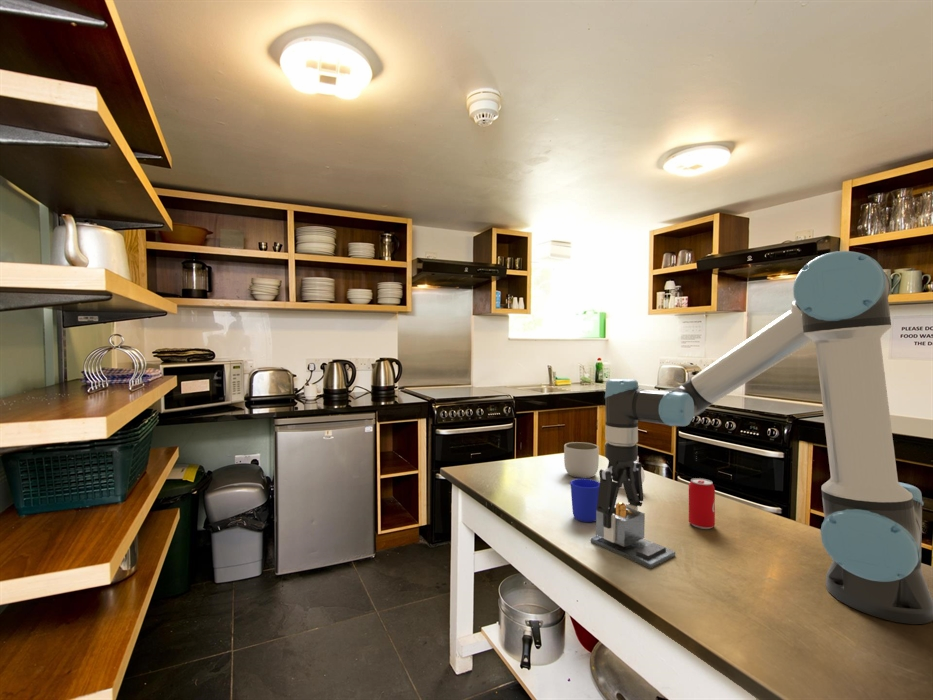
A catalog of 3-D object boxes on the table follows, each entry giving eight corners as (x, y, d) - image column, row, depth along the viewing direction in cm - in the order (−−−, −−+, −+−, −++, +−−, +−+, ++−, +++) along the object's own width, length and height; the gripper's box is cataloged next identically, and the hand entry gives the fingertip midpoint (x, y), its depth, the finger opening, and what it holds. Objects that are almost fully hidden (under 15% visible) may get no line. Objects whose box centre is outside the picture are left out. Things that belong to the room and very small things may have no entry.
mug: (617, 526, 119) (617, 489, 119) (570, 523, 121) (570, 486, 121) (613, 515, 127) (613, 480, 127) (570, 512, 129) (570, 477, 129)
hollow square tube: (644, 537, 108) (644, 513, 108) (624, 546, 103) (624, 521, 103) (616, 526, 114) (616, 503, 114) (596, 534, 110) (596, 510, 110)
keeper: (675, 555, 103) (675, 511, 102) (650, 568, 97) (650, 522, 97) (615, 532, 116) (616, 492, 115) (590, 542, 110) (590, 501, 110)
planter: (557, 474, 165) (557, 445, 165) (576, 468, 174) (576, 440, 174) (586, 482, 156) (586, 451, 156) (605, 475, 165) (605, 445, 165)
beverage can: (717, 525, 120) (717, 480, 119) (711, 532, 115) (711, 486, 115) (692, 519, 124) (692, 476, 124) (685, 525, 119) (685, 481, 119)
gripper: (632, 434, 117) (632, 520, 118) (580, 445, 105) (580, 541, 106) (659, 439, 111) (659, 530, 112) (607, 452, 99) (606, 553, 99)
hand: (620, 535), depth 109 cm, fingers closed on hollow square tube, 8 cm apart
